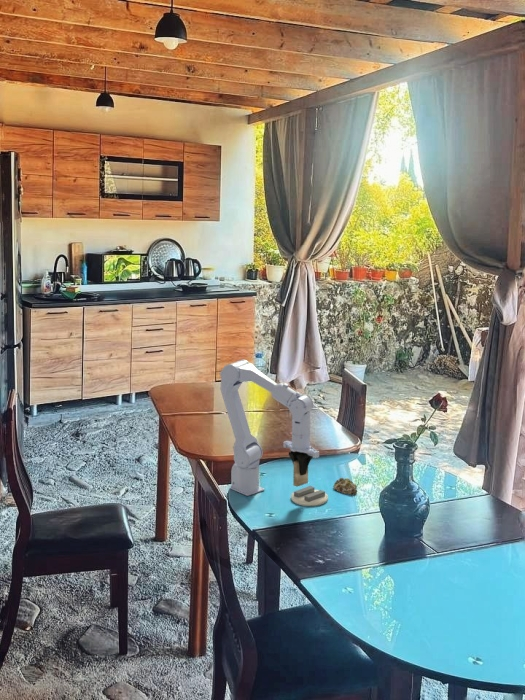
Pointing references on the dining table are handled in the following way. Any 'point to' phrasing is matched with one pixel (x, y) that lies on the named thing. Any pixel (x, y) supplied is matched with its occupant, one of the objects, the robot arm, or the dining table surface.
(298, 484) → the wooden block
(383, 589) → the dining table surface
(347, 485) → the mineral rock
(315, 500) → the clip base
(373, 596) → the dining table surface
